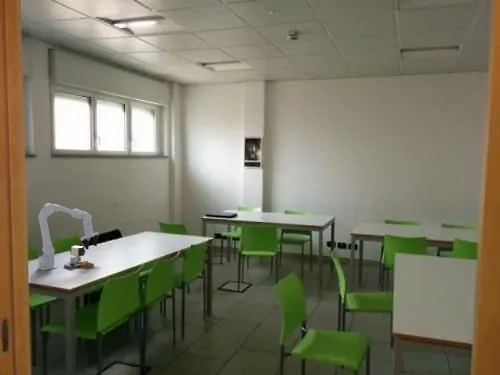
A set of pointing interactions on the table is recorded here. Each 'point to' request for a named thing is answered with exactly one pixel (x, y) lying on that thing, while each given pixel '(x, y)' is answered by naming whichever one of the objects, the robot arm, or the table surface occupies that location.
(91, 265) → the rack
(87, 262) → the drift key
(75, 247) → the pneumatic valve
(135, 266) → the table surface
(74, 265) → the socket block
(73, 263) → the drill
